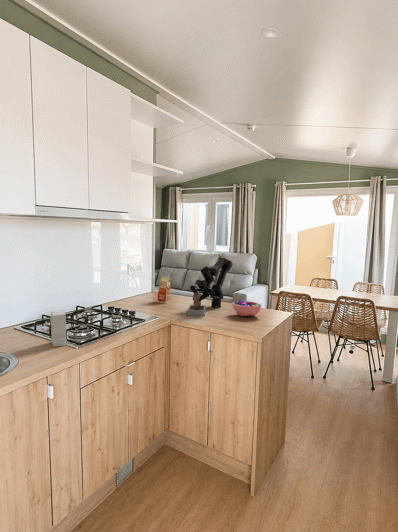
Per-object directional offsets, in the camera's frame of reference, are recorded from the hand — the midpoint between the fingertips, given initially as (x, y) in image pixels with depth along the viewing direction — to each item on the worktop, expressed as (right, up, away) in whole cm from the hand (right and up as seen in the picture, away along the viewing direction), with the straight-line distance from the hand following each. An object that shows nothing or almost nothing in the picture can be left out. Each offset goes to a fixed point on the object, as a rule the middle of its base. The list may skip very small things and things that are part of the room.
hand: (195, 300), depth 228 cm
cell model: (+33, -10, -2) cm, 35 cm away
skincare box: (-64, -14, -68) cm, 94 cm away
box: (+1, -8, +2) cm, 9 cm away
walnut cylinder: (+1, -7, +2) cm, 7 cm away
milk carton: (-24, -4, +33) cm, 42 cm away
